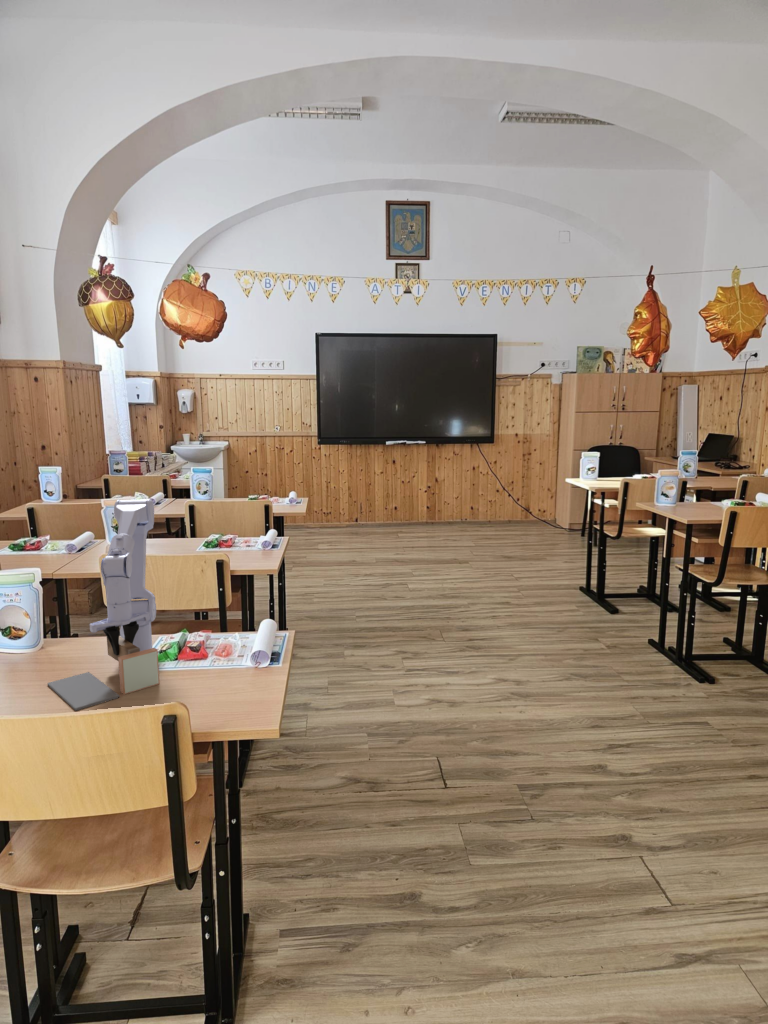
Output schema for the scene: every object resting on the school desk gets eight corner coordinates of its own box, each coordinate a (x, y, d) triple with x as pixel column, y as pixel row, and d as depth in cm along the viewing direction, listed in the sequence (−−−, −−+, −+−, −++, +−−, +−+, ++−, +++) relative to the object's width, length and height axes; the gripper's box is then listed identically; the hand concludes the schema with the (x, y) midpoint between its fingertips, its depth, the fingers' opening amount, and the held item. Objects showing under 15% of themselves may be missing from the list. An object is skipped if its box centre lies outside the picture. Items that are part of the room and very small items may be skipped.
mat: (47, 685, 162) (47, 682, 162) (88, 674, 169) (88, 671, 169) (75, 710, 148) (75, 708, 148) (119, 697, 154) (119, 695, 154)
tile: (120, 692, 158) (118, 657, 156) (156, 681, 164) (154, 647, 162) (124, 694, 156) (121, 659, 155) (159, 684, 162) (157, 649, 161)
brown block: (107, 654, 170) (106, 636, 170) (117, 652, 172) (116, 634, 171) (130, 670, 160) (129, 650, 159) (140, 667, 162) (139, 648, 161)
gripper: (95, 610, 156) (99, 664, 158) (153, 599, 166) (156, 649, 168) (85, 604, 161) (89, 656, 163) (141, 593, 171) (144, 642, 173)
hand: (122, 652), depth 166 cm, fingers closed on brown block, 2 cm apart
